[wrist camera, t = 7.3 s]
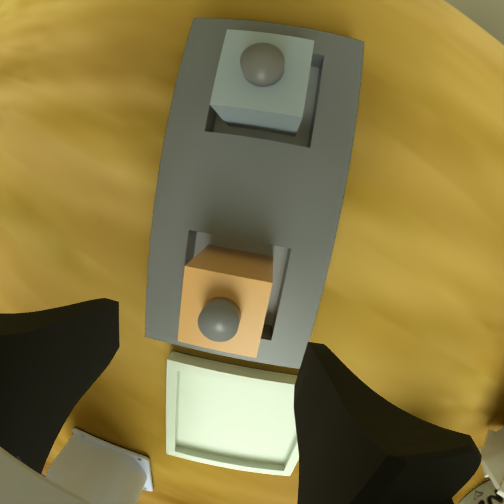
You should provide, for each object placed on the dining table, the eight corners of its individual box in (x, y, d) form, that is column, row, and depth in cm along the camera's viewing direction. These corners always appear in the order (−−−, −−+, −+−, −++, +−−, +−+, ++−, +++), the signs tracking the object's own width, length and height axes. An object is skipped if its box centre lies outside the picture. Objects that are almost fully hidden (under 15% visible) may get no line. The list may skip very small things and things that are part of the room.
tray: (169, 445, 23) (166, 453, 22) (172, 350, 21) (167, 359, 19) (289, 466, 23) (289, 476, 22) (327, 378, 20) (330, 388, 19)
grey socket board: (158, 321, 20) (145, 336, 18) (202, 34, 16) (193, 18, 13) (298, 349, 20) (300, 368, 17) (354, 56, 15) (364, 41, 13)
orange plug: (200, 304, 19) (171, 351, 13) (208, 244, 18) (178, 272, 12) (261, 316, 19) (255, 369, 13) (273, 256, 18) (272, 290, 12)
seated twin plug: (227, 125, 17) (204, 98, 11) (239, 66, 16) (223, 19, 10) (294, 136, 16) (304, 112, 11) (304, 76, 16) (316, 30, 10)
